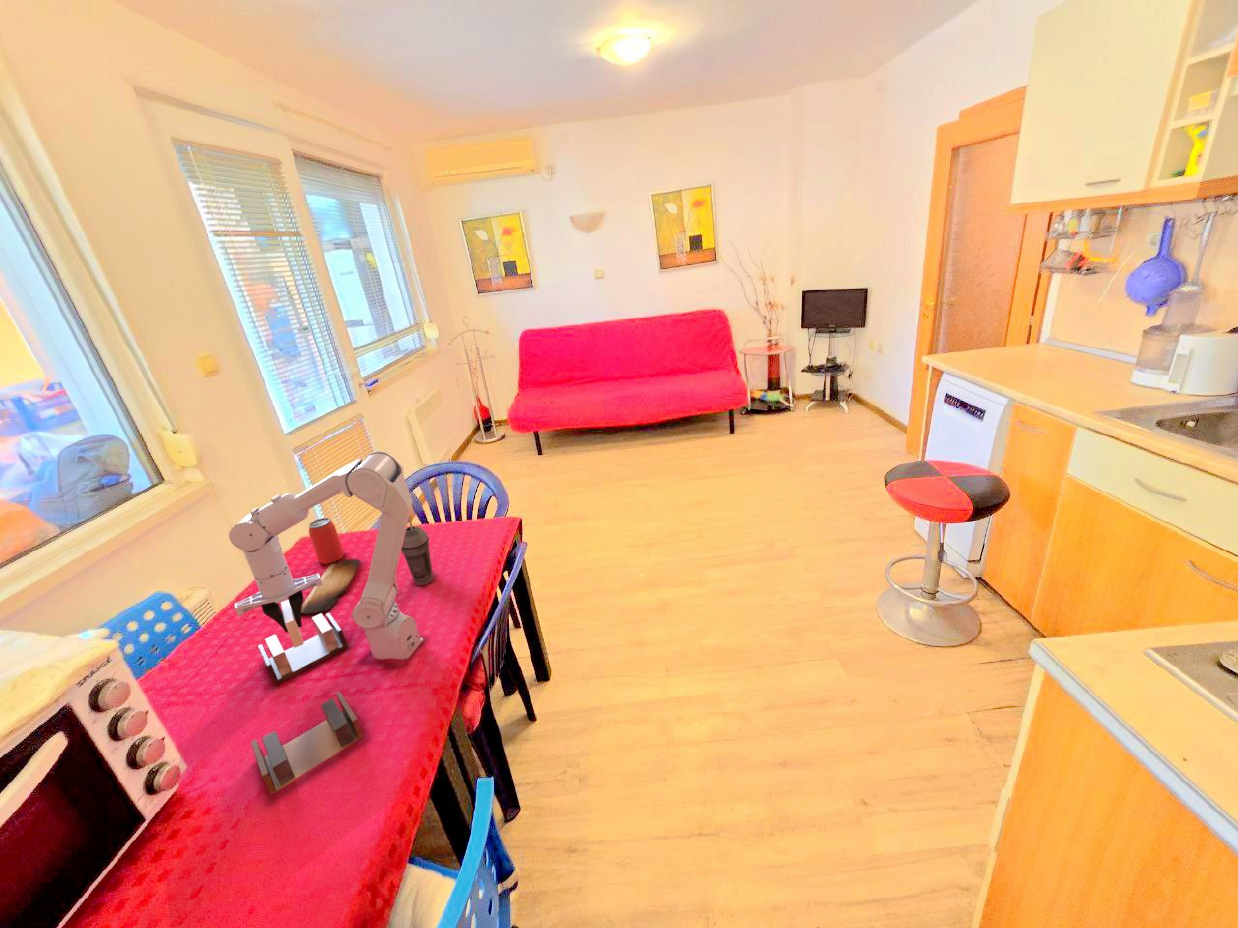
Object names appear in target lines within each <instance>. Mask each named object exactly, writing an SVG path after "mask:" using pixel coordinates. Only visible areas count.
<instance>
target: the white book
mask: <svg viewBox="0 0 1238 928" xmlns="http://www.w3.org/2000/svg"><path fill="white" fill-rule="evenodd" d="M280 608H281V611H282V613H283V617H284V622H285V625H286V628H287V630H288V632H287V633H288V635H289V637H290V640H291V643H292V645H293V646H294V648H296V647H298V646H300V645H303V644H304V643H303V642H304V639H303V636H302V632H301V627H299V628H298V625H297V622H296V618H295V615H294V613H293V610H292V608H291V606H290V603H289V599H287V600H285V601H282V602H280Z"/></svg>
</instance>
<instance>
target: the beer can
mask: <svg viewBox="0 0 1238 928" xmlns="http://www.w3.org/2000/svg"><path fill="white" fill-rule="evenodd" d="M308 536H309V538H310V540H311V544H312V546H313V549H314V552H315V554H316V559H317V560H318V563H320V564H321V565H330V564H331V563H333V562H339V561H340V560H342V558H343V557H344V550H343V547H342V543H341V540H340V538H339V537H340V536H339V534H338V531H337V528H336V525H335V524H334V523H333V521H332V519H330V517H329V518H328V517H324V518H318V519H316V520H313V521H312V522H310V523H309V524H308Z"/></svg>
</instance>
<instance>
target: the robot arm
mask: <svg viewBox="0 0 1238 928" xmlns="http://www.w3.org/2000/svg"><path fill="white" fill-rule="evenodd" d="M339 494H341V495H343V496H345V497H347V498H352V497H353V496H355V498H357V499H359V500H361V501H362V502H364V503H366V504H367V505H370V506H371V507H373V508H374V509H376V510H378V511H380V513H381V517H380V521H379V526H378V531H377V536H376V539H375V545H374V548H373V554H372V558H371V561H370V562H371V563H370V568H369V572H368V577H367V580H366V584H365V586H364V589H363V591H362V594H361V597H360V600H359V601H358V602H357V605H355V606H354V608H353V610H352V614H351V616H352V620H353V622H354V623H355V625H357V626H358V627H360V628H362V629H363V632H364V634H365V638H366V640H367V643H368V647H369V649H370V652H371V655H372V657H373V658H374V659H376V660H388V659H392V660H394V659H395V660H408V659H409V658H410V657H411V656H412V655H413V654H414V652H415V651H416V650H417V649H418V648H419V646H420V645H421V644H422V643H423V642H424V638H423V637H421V636H420V633H419V629H418V626H417V622H416V620H415V618H414V617H413V616H410V615H407V614H405V613H403V612H402V611H401V610H400V609H399V606H398V604H397V602H396V598H397V597H398V594H399V587H398V585H397V579H398V576H397V570H398V566H399V562H400V558H401V553H402V551H401V549H402V545H403V541H404V537H405V532H406V528H408V524H409V516H410V517H411V511H412V506H413V499H412V498H413V497H412V495H411V493H410V491H409V487H408V484H407V482H406V479H405V475H404V467H403V466H402V464H401V463H400V462H399V461H398V460H397V459H396V458H395V457H394V456H393V455H392V454H390V453H388V452H386V451H383V450H382V451H380V450H378V451H374V452H371V453H369V454H368V455H367V456H365V458H364V457H361V458H358V459H356V460H354V461H352V462H350V463H348V464H346V465H344V466H342V467H340V468H339V469H337V470H335V471H334V472H333V473H331V474H329V475H328V476H326V477H325V478H323V479H321V480H320V481H318V482H317V483H315V484H314V485H312V486H311V487H309V488H307V489H306V490H304V491H302V492H301V493H299V494H296V493H292V492H288V493H285V494H283V495H282V494H281V493H278V494H276V495H274V496H273V497H272V498H271V499H270V502H269V503H267V504H266V505H263V506H262V507H260V508H259V507H256V508H254V509H253V510H251V511H250V512H249V513H248V514H247V515H246V516H245V517H244V518H242V519H241V520H239V521H238V522H237V523H236V524H235V525H233V527H232V528H231V529H230V531H229V533H228V539H229V541H230V543H231V544H232V545H233V546H234V547H235V548H237V550H241V551H242V552H243V555H244V557H245V559H246V562H247V564H248V566H249V569H250V571H251V574H252V576H253V578H254V581H255V583H256V585H257V589H258V592H256V593H255V594H253V595H250V596H248V597H246V598H244V599H242V600H240V601H237V602H234V610H235V612H236V615H237V617H241V616H243V615H245V614H246V613H247V612H249V611H253V610H254V609H257V608H261V609H262V612H263V614H264V615H265V616H267V617H268V618H270V619H272V620H273V621H275V622H276V623H277V624H278V625H280V627H281V628H282V630H283V631H284V632H285V634H287V633H288V630H287V628H286V625H285V622H284V617H283V612H282V607H281V605H280V603H281V602H283V601H286V600H289V603H290V606H291V608H292V610H293V613H294V615H295V618H296V622H297V625H298V628H299V627H300V628H302V627H303V624H302V613H301V608H302V604H303V603H304V594H303V592H304V591H306V590H309V589H311V588H312V589H313V588H314V587H315V586H317V587H319V586H321V585H323V584H322V581H321V576H320V573H316V574H312V575H308V576H304V577H299V578H294V577H293V574H292V573H291V569H290V567H289V564H288V562H287V558H286V557H285V553H284V551H283V548H282V546H281V543H280V541H279V540H280V538H279V535H281V534H282V533H284V532H285V531H287V530H288V529H291V528H292V527H294V526H296V525H297V524H299V523H301V522H302V521H304V520H306V519H307V518H308V516H309V512H310V509H312V508H314V507H316V506H318V505H319V504H321V503H323V502H325V501H327V500H329V499H331V498H333V497H335V496H337V495H339Z"/></svg>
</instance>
